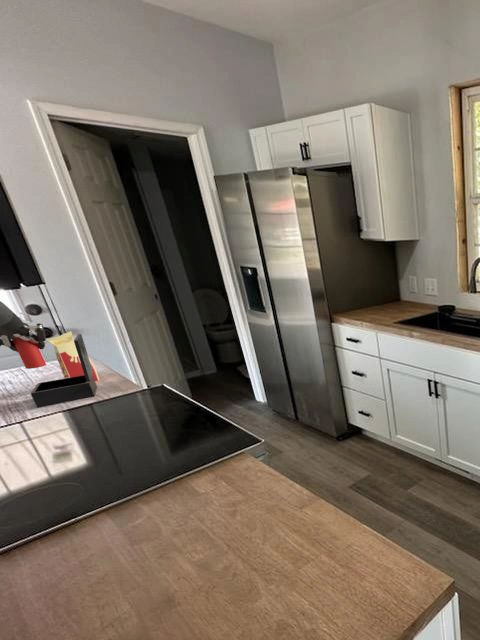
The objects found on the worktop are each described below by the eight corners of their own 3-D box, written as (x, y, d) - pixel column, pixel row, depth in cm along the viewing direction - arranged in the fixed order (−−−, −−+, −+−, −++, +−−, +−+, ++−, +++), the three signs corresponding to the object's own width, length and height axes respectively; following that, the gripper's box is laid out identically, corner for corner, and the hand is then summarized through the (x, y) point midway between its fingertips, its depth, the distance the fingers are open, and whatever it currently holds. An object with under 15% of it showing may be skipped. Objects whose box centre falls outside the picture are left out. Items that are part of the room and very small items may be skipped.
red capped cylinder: (24, 369, 126) (4, 327, 121) (27, 366, 129) (7, 325, 124) (45, 366, 129) (26, 324, 124) (47, 363, 132) (28, 322, 127)
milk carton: (95, 377, 163) (75, 328, 156) (102, 382, 158) (81, 331, 151) (63, 384, 156) (40, 333, 149) (69, 389, 151) (45, 336, 144)
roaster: (38, 410, 134) (30, 393, 131) (45, 398, 143) (37, 383, 141) (95, 398, 142) (88, 382, 140) (98, 388, 151) (91, 373, 149)
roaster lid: (73, 340, 135) (77, 340, 135) (77, 334, 145) (81, 333, 145) (86, 381, 139) (90, 381, 140) (89, 372, 149) (92, 372, 150)
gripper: (28, 302, 119) (61, 334, 133) (-45, 308, 112) (-2, 342, 126) (29, 322, 117) (62, 354, 131) (-46, 330, 110) (-3, 362, 124)
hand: (30, 348), depth 128 cm, fingers closed on red capped cylinder, 4 cm apart
